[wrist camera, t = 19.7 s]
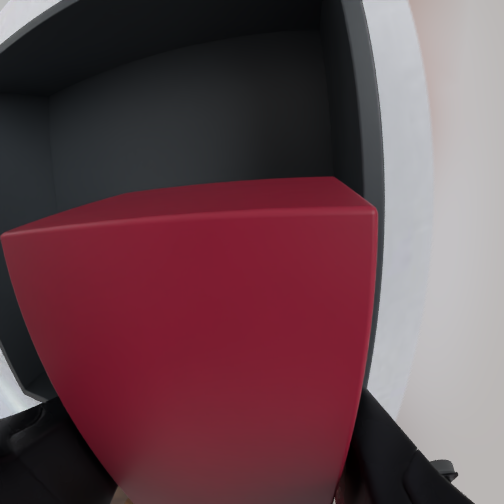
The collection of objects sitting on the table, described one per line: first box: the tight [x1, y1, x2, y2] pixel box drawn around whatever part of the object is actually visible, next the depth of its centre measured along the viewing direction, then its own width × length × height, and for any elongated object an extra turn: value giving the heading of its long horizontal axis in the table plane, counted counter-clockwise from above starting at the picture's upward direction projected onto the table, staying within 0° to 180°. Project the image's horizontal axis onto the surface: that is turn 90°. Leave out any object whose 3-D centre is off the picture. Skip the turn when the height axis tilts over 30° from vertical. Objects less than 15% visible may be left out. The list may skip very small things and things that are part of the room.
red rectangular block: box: [1, 176, 378, 504], centre depth 6 cm, size 10×5×4 cm, turn 5°
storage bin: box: [0, 0, 385, 403], centre depth 13 cm, size 19×19×9 cm
